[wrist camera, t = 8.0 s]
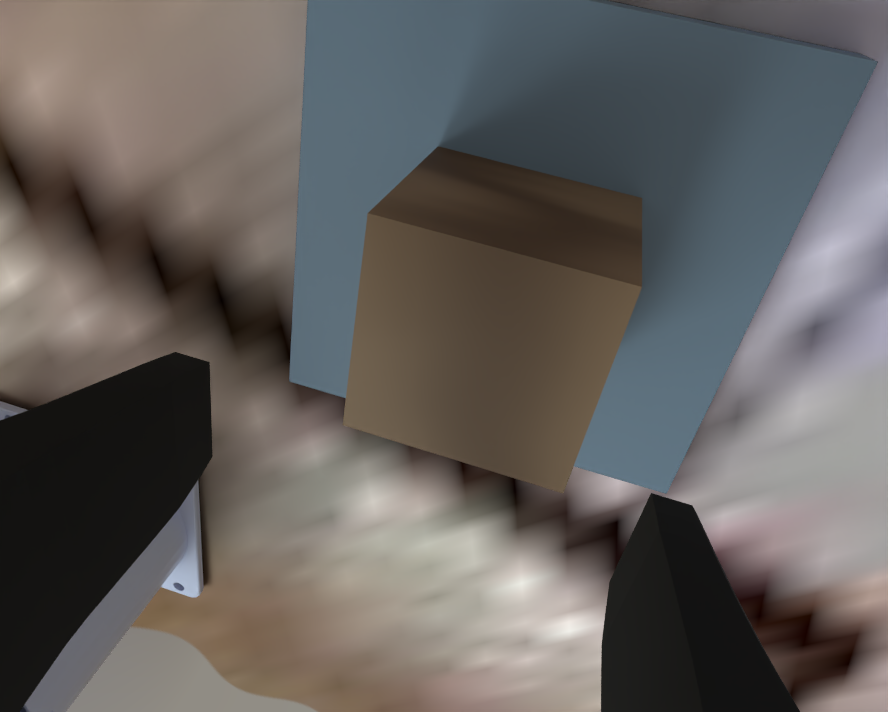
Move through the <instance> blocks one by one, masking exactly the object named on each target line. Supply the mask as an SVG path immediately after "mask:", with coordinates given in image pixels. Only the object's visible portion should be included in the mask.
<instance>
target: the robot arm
mask: <svg viewBox="0 0 888 712" xmlns="http://www.w3.org/2000/svg"><path fill="white" fill-rule="evenodd" d="M211 458H212V428H211V396H210V365H209V362H207V361H204V360H200V359H197V358H193V357H190V356H187V355H183V354H180V353H177V352H174V353H172V354H169V355H166V356H163V357H160V358H157V359H155V360H152V361H150V362H147V363H145V364H142V365H140V366H137V367H135V368H132V369H130V370H127V371H125V372H122V373H120V374H118V375H115V376H113V377H110V378H108V379H105V380H103V381H101V382H98V383H96V384H93V385H91V386H88V387H86V388H83V389H81V390H78V391H76V392H73V393H71V394H69V395H66V396H64V397H61V398H59V399H56V400H54V401H51V402H49V403H46V404H44V405H41V406H39V407H36V408H33V409H30V410H26V409H23V408H20V407H17V406H14V405H11V404H8V403H4V402H1V401H0V712H66V711H67V710H68V709H69V707H70V706H71V704H72V703H73V702H74V701H75V699H76V698H77V697H78V695H79V694H80V693H81V691H82V690H83V689H84V688H85V686H86V685H87V684H88V682H89V681H90V680H91V678H92V677H93V676H94V674H95V673H96V672H97V670H98V669H99V668H100V666H101V665H102V664H103V662H104V661H105V660H106V659H107V657H108V656H109V655H110V653H111V652H112V650H113V649H114V648H115V646H116V645H117V644H118V643H119V641H120V640H121V639H122V637H123V636H124V635H125V633H126V632H127V631H128V630H129V628H130V627H131V626H132V624H133V623H134V622H135V620H136V619H137V618H138V616H139V615H140V614H141V612H142V611H143V610H144V608H145V607H146V606H147V604H148V603H149V602H150V601H151V599H152V598H153V597H154V595H155V594H156V593H157V591H158V590H159V589H160V587H163V588H166V589H169V590H172V591H175V592H177V593H180V594H183V595H186V596H189V597H198V596H199V595H200V594H201V592H202V591H203V588H204V585H203V565H202V545H201V524H200V504H199V484H198V479H199V477H200V476H201V474H202V473H203V471H204V469H205V468H206V466H207V464H208V463H209V461H210V460H211ZM601 712H800V711H799V709H798V707H797V706H796V704H795V702H794V701H793V699H792V697H791V696H790V694H789V692H788V690H787V689H786V687H785V685H784V684H783V682H782V680H781V679H780V677H779V675H778V673H777V672H776V670H775V668H774V666H773V664H772V663H771V661H770V659H769V657H768V656H767V654H766V652H765V650H764V648H763V646H762V645H761V643H760V641H759V639H758V637H757V635H756V633H755V631H754V629H753V628H752V626H751V624H750V622H749V620H748V618H747V616H746V614H745V612H744V611H743V609H742V607H741V605H740V603H739V601H738V599H737V597H736V595H735V593H734V591H733V589H732V587H731V585H730V583H729V581H728V579H727V577H726V575H725V572H724V570H723V568H722V566H721V564H720V562H719V560H718V558H717V556H716V554H715V552H714V550H713V547H712V545H711V543H710V541H709V539H708V537H707V535H706V532H705V530H704V528H703V526H702V524H701V522H700V520H699V518H698V515H697V513H696V512H695V510H694V508H693V506H692V505H689V504H686V503H682V502H679V501H675V500H672V499H669V498H665V497H662V496H659V495H655V494H652V493H651V495H650V497H649V499H648V501H647V503H646V505H645V508H644V510H643V512H642V514H641V516H640V518H639V520H638V522H637V525H636V527H635V529H634V531H633V533H632V535H631V537H630V539H629V542H628V544H627V546H626V548H625V550H624V552H623V554H622V557H621V559H620V561H619V563H618V565H617V567H616V569H615V571H614V574H613V576H612V578H611V580H610V583H609V591H608V598H607V606H606V613H605V622H604V630H603V639H602V667H601Z"/></svg>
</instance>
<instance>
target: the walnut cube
mask: <svg viewBox="0 0 888 712" xmlns="http://www.w3.org/2000/svg"><path fill="white" fill-rule="evenodd" d="M641 289H642V198H640V197H636V196H632V195H629V194H625V193H621V192H617V191H613V190H609V189H605V188H601V187H597V186H593V185H589V184H585V183H581V182H577V181H573V180H569V179H565V178H562V177H558V176H554V175H550V174H546V173H542V172H538V171H534V170H530V169H526V168H522V167H518V166H514V165H510V164H506V163H502V162H498V161H495V160H491V159H487V158H483V157H479V156H475V155H471V154H467V153H463V152H459V151H455V150H451V149H447V148H443V147H439V146H438V147H437V148H436V149H435V150H434V151H432V152H431V153H430V154H429V155H428V156H427V157H426V158H425V159H424V160H423V161H422V162H421V163H420V164H419V165H418V166H417V167H416V168H415V169H414V170H412V171H411V172H410V173H409V174H408V175H407V176H406V177H405V178H404V179H403V180H402V181H401V182H400V183H399V184H398V185H397V186H396V187H395V188H394V189H392V190H391V191H390V192H389V193H388V194H387V195H386V196H385V197H384V198H383V199H382V200H381V201H380V202H379V203H378V204H377V205H376V206H375V207H374V208H372V209H371V210H370V211H369V212H368V214H367V222H366V231H365V239H364V248H363V256H362V265H361V273H360V282H359V290H358V299H357V307H356V316H355V324H354V333H353V341H352V350H351V358H350V367H349V375H348V384H347V392H346V401H345V409H344V418H343V425H344V426H347V427H351V428H354V429H357V430H360V431H364V432H367V433H370V434H373V435H376V436H380V437H383V438H386V439H389V440H393V441H396V442H399V443H402V444H406V445H409V446H412V447H415V448H418V449H422V450H425V451H428V452H431V453H435V454H438V455H441V456H444V457H447V458H451V459H454V460H457V461H460V462H464V463H467V464H470V465H473V466H477V467H480V468H483V469H486V470H489V471H493V472H496V473H499V474H502V475H506V476H509V477H512V478H515V479H519V480H522V481H525V482H528V483H531V484H535V485H538V486H541V487H544V488H548V489H551V490H554V491H557V492H560V493H563V492H564V490H565V487H566V485H567V482H568V479H569V477H570V474H571V472H572V469H573V466H574V464H575V461H576V458H577V456H578V453H579V451H580V448H581V445H582V443H583V440H584V438H585V435H586V432H587V430H588V427H589V424H590V422H591V419H592V417H593V414H594V411H595V409H596V406H597V404H598V401H599V398H600V396H601V393H602V390H603V388H604V385H605V383H606V380H607V377H608V375H609V372H610V370H611V367H612V364H613V362H614V359H615V356H616V354H617V351H618V349H619V346H620V343H621V341H622V338H623V336H624V333H625V330H626V328H627V325H628V322H629V320H630V317H631V315H632V312H633V309H634V307H635V304H636V302H637V299H638V296H639V294H640V291H641Z"/></svg>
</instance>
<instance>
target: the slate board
mask: <svg viewBox="0 0 888 712" xmlns="http://www.w3.org/2000/svg"><path fill="white" fill-rule="evenodd" d="M877 63H878V62H877V61H875V60H873V59H871V58H869V57H867V56H864V55H862V54H858V53H854V52H849V51H844V50H840V49H835V48H830V47H825V46H821V45H816V44H811V43H806V42H802V41H797V40H792V39H788V38H783V37H778V36H773V35H769V34H764V33H759V32H754V31H750V30H745V29H740V28H736V27H731V26H726V25H721V24H717V23H712V22H707V21H702V20H698V19H693V18H688V17H684V16H679V15H674V14H669V13H665V12H660V11H655V10H650V9H646V8H641V7H636V6H632V5H627V4H622V3H617V2H613V1H608V0H308V6H307V26H306V47H305V67H304V88H303V108H302V129H301V150H300V170H299V191H298V211H297V232H296V252H295V273H294V294H293V314H292V335H291V355H290V376H289V381H290V382H293V383H297V384H300V385H303V386H307V387H310V388H313V389H317V390H320V391H323V392H327V393H330V394H333V395H337V396H340V397H343V398H346V392H347V384H348V375H349V367H350V358H351V350H352V341H353V333H354V324H355V316H356V307H357V299H358V290H359V282H360V273H361V265H362V256H363V248H364V239H365V231H366V222H367V214H368V212H369V211H370V210H371V209H372V208H374V207H375V206H376V205H377V204H378V203H379V202H380V201H381V200H382V199H383V198H384V197H385V196H386V195H387V194H388V193H389V192H390V191H391V190H392V189H394V188H395V187H396V186H397V185H398V184H399V183H400V182H401V181H402V180H403V179H404V178H405V177H406V176H407V175H408V174H409V173H410V172H411V171H412V170H414V169H415V168H416V167H417V166H418V165H419V164H420V163H421V162H422V161H423V160H424V159H425V158H426V157H427V156H428V155H429V154H430V153H431V152H432V151H434V150H435V149H436V148H437V147H438V146H439V147H443V148H447V149H451V150H455V151H459V152H463V153H467V154H471V155H475V156H479V157H483V158H487V159H491V160H495V161H498V162H502V163H506V164H510V165H514V166H518V167H522V168H526V169H530V170H534V171H538V172H542V173H546V174H550V175H554V176H558V177H562V178H565V179H569V180H573V181H577V182H581V183H585V184H589V185H593V186H597V187H601V188H605V189H609V190H613V191H617V192H621V193H625V194H629V195H632V196H636V197H640V198H642V289H641V291H640V294H639V296H638V299H637V302H636V304H635V307H634V309H633V312H632V315H631V317H630V320H629V322H628V325H627V328H626V330H625V333H624V336H623V338H622V341H621V343H620V346H619V349H618V351H617V354H616V356H615V359H614V362H613V364H612V367H611V370H610V372H609V375H608V377H607V380H606V383H605V385H604V388H603V390H602V393H601V396H600V398H599V401H598V404H597V406H596V409H595V411H594V414H593V417H592V419H591V422H590V424H589V427H588V430H587V432H586V435H585V438H584V440H583V443H582V445H581V448H580V451H579V453H578V456H577V458H576V461H575V464H574V466H575V467H578V468H582V469H585V470H588V471H592V472H595V473H598V474H602V475H605V476H609V477H612V478H615V479H619V480H622V481H625V482H629V483H632V484H635V485H639V486H642V487H645V488H649V489H652V490H656V491H659V492H662V493H667V491H668V489H669V487H670V485H671V483H672V481H673V479H674V477H675V475H676V473H677V471H678V469H679V467H680V465H681V463H682V461H683V459H684V457H685V455H686V453H687V451H688V449H689V447H690V444H691V442H692V440H693V438H694V436H695V434H696V432H697V430H698V428H699V426H700V424H701V422H702V420H703V418H704V416H705V414H706V412H707V410H708V408H709V406H710V404H711V402H712V400H713V398H714V396H715V393H716V391H717V389H718V387H719V385H720V383H721V381H722V379H723V377H724V375H725V373H726V371H727V369H728V367H729V365H730V363H731V361H732V359H733V357H734V355H735V353H736V351H737V349H738V347H739V344H740V342H741V340H742V338H743V336H744V334H745V332H746V330H747V328H748V326H749V324H750V322H751V320H752V318H753V316H754V314H755V312H756V310H757V308H758V306H759V304H760V302H761V300H762V298H763V296H764V293H765V291H766V289H767V287H768V285H769V283H770V281H771V279H772V277H773V275H774V273H775V271H776V269H777V267H778V265H779V263H780V261H781V259H782V257H783V255H784V253H785V251H786V249H787V247H788V245H789V242H790V240H791V238H792V236H793V234H794V232H795V230H796V228H797V226H798V224H799V222H800V220H801V218H802V216H803V214H804V212H805V210H806V208H807V206H808V204H809V202H810V200H811V198H812V196H813V194H814V191H815V189H816V187H817V185H818V183H819V181H820V179H821V177H822V175H823V173H824V171H825V169H826V167H827V165H828V163H829V161H830V159H831V157H832V155H833V153H834V151H835V149H836V147H837V145H838V142H839V140H840V138H841V136H842V134H843V132H844V130H845V128H846V126H847V124H848V122H849V120H850V118H851V116H852V114H853V112H854V110H855V108H856V106H857V104H858V102H859V100H860V98H861V96H862V94H863V91H864V89H865V87H866V85H867V83H868V81H869V79H870V77H871V75H872V73H873V71H874V69H875V67H876V65H877Z"/></svg>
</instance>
